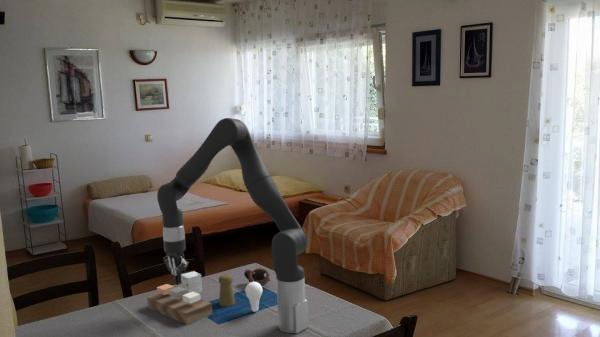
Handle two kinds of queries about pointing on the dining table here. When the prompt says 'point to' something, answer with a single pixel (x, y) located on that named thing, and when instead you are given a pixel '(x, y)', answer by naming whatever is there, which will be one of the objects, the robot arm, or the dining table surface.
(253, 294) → the lightbulb
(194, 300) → the off-white key
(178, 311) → the key panel
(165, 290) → the terracotta key
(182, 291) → the grey key
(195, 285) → the skincare box
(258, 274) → the pottery mug
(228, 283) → the olive rounded waisted cylinder
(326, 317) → the dining table surface
